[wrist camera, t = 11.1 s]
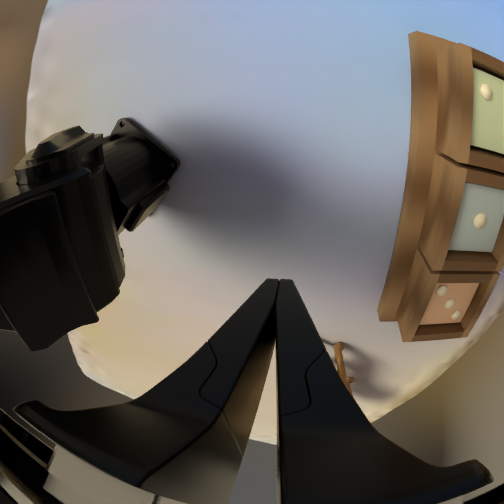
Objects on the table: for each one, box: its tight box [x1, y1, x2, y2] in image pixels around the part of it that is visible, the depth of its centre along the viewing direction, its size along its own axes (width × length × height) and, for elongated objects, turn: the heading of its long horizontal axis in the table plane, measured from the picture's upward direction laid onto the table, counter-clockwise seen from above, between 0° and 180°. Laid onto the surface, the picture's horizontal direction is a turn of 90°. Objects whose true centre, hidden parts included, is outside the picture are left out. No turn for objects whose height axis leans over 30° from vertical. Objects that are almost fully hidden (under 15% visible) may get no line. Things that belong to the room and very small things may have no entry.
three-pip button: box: [419, 283, 479, 325], centre depth 18 cm, size 5×5×2 cm
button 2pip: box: [471, 68, 504, 154], centre depth 10 cm, size 5×5×2 cm
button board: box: [377, 31, 504, 342], centre depth 15 cm, size 24×10×5 cm, turn 4°
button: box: [448, 182, 504, 252], centre depth 14 cm, size 5×5×2 cm
